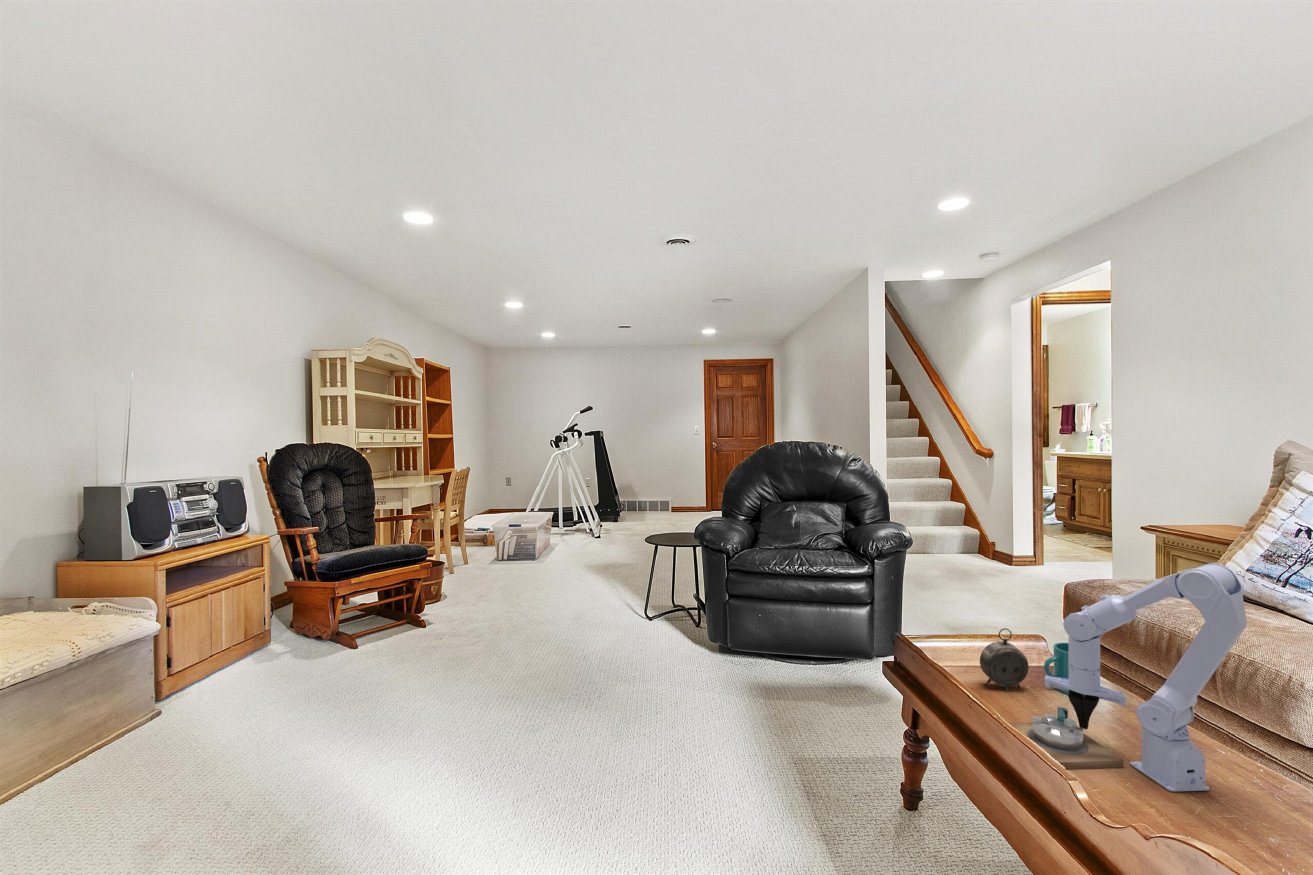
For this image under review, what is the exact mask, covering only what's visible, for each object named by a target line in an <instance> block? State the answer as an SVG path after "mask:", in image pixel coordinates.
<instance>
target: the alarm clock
mask: <svg viewBox="0 0 1313 875" xmlns="http://www.w3.org/2000/svg"><path fill="white" fill-rule="evenodd" d="M1003 631H1008V632H1009V634H1010V636H1009V638H1006V637H1004V638H1003V637H1001V633H1002V632H1003ZM1012 634H1013V633H1012V631H1011V630H1010V629H1009V628H1005V627H1004V628H1003V627H1002V628H1001V629H1000V630H999V632H998V638H999V639H1000V640H1001V641H1000V640H999V641H994V642H992V643H990V644H988V645H986V646H985V647H984V649H983V650H982V651H981V653H980V656H979V666H980V668H981V671H982V672H983V673H984V675H986V676H987V677H988V680H987V681H986V682H985V683H984V686H985V687H987V686H988V685H989V684H990V683H991V682H993V683H995V684H996V685H999V686H1001V687H1005V689H1006V690H1005V691H1007V693H1008V692H1010V687H1014V686H1017V688H1021V685H1020V683H1022V682H1023V681H1024V680H1025V679H1026V678H1027V676H1028V673H1029V670H1030V668H1029V667H1030V666H1029V660H1028V659H1027V657H1026V655H1025V654H1024V652H1022V651H1021V650H1020V649H1018V648H1017V647H1016V646H1015V645H1014V644H1012V643H1009V642H1008V641H1009V640H1010V639H1011V638H1012V636H1013V635H1012Z"/></svg>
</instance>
